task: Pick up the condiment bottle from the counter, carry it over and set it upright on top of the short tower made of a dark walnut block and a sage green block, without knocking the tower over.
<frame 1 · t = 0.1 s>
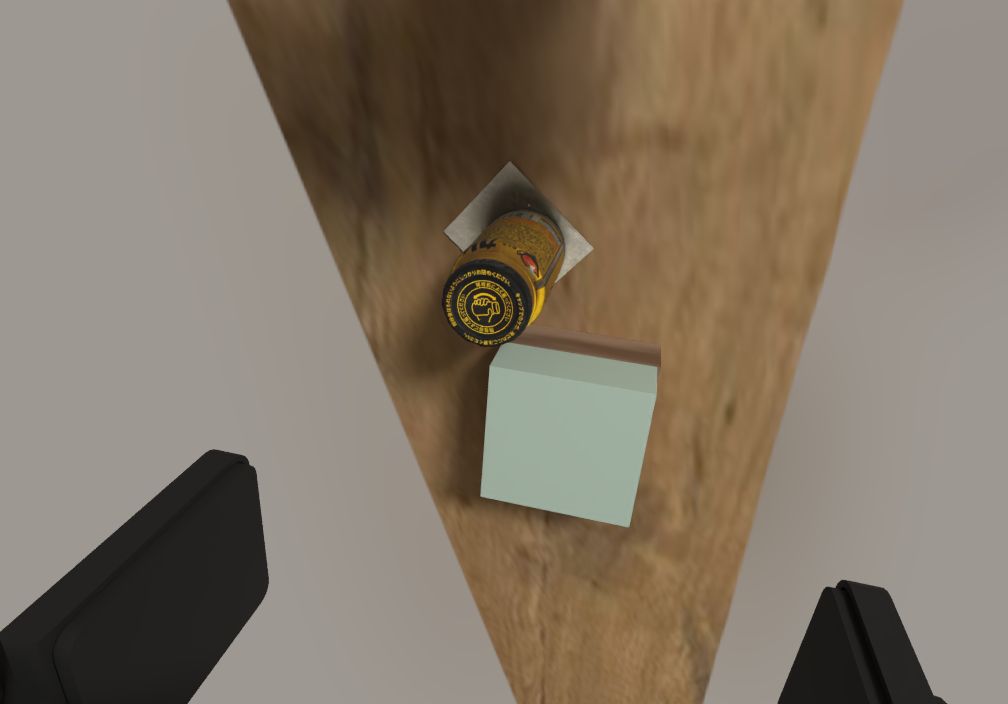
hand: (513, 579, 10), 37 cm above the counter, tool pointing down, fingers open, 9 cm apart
bottom block: (578, 393, 51), on the counter, touching top block
top block: (569, 419, 47), point 4 cm above the counter, touching bottom block
condiment: (518, 238, 46), on the counter
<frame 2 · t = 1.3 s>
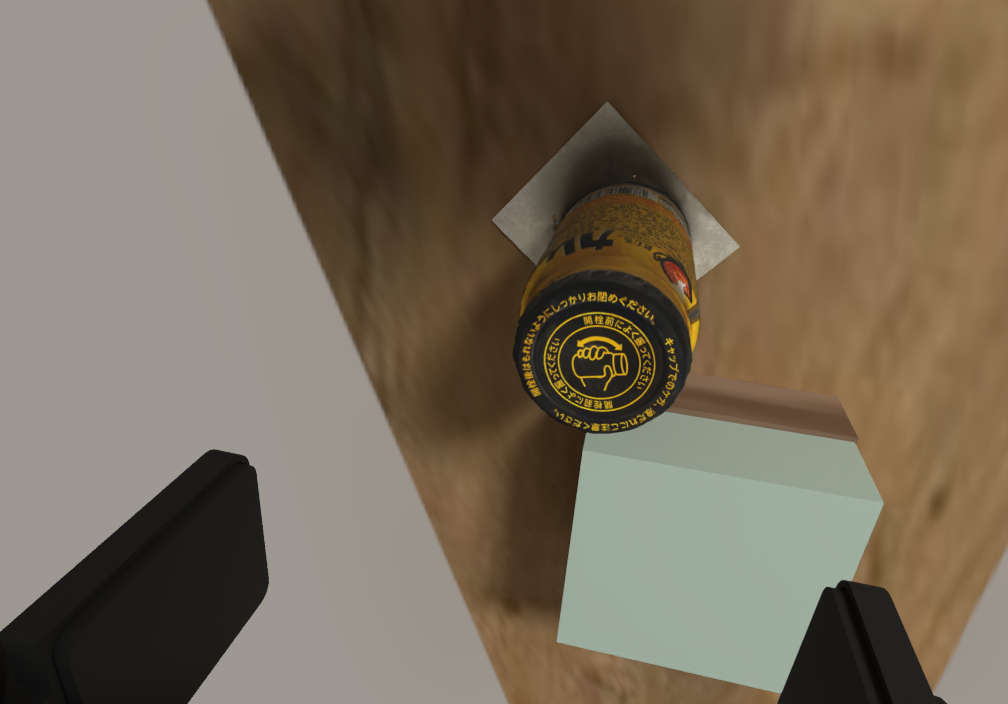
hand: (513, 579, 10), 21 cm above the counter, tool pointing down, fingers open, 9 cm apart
bottom block: (693, 464, 33), on the counter, touching top block
top block: (694, 518, 30), point 4 cm above the counter, touching bottom block
condiment: (611, 230, 29), on the counter
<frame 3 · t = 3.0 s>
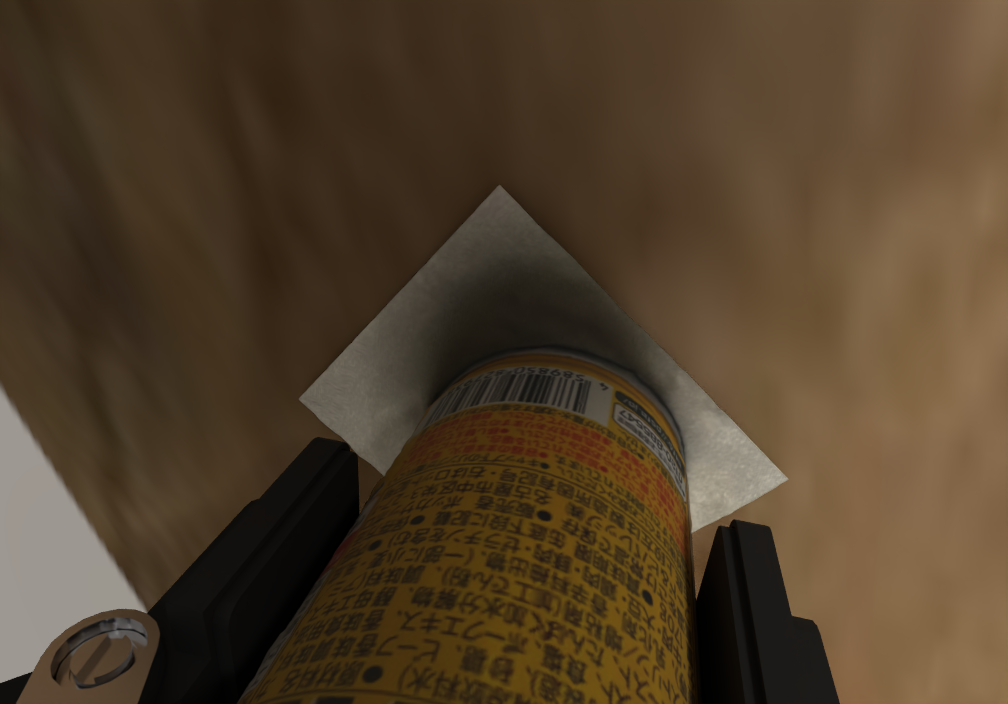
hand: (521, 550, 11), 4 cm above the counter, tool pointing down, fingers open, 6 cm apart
condiment: (529, 427, 15), on the counter
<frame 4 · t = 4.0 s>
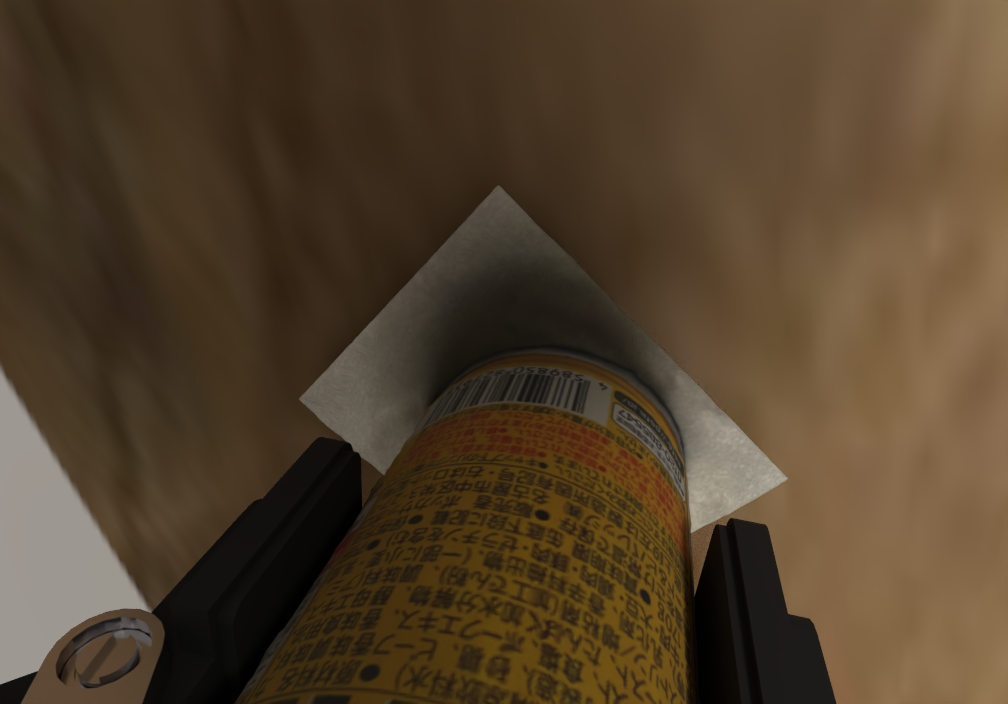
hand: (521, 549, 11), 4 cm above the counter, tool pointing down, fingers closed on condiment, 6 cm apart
condiment: (529, 426, 15), on the counter, touching gripper
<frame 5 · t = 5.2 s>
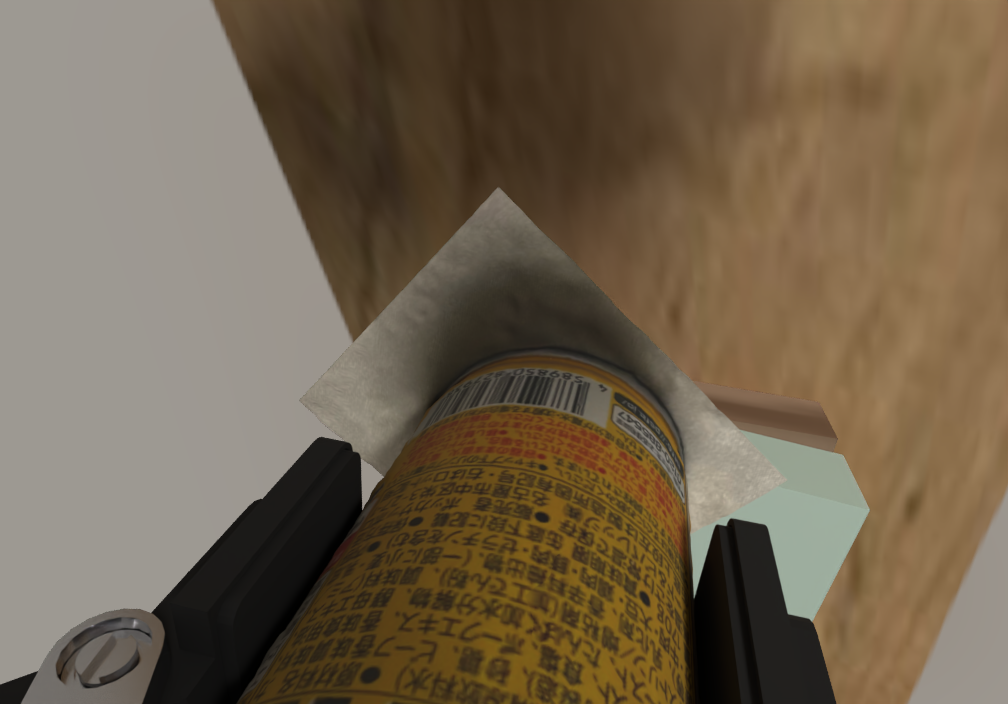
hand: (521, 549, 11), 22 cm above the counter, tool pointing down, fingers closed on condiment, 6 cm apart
bottom block: (683, 467, 35), on the counter, touching top block
top block: (686, 517, 31), point 4 cm above the counter, touching bottom block
condiment: (529, 428, 15), point 18 cm above the counter, touching gripper
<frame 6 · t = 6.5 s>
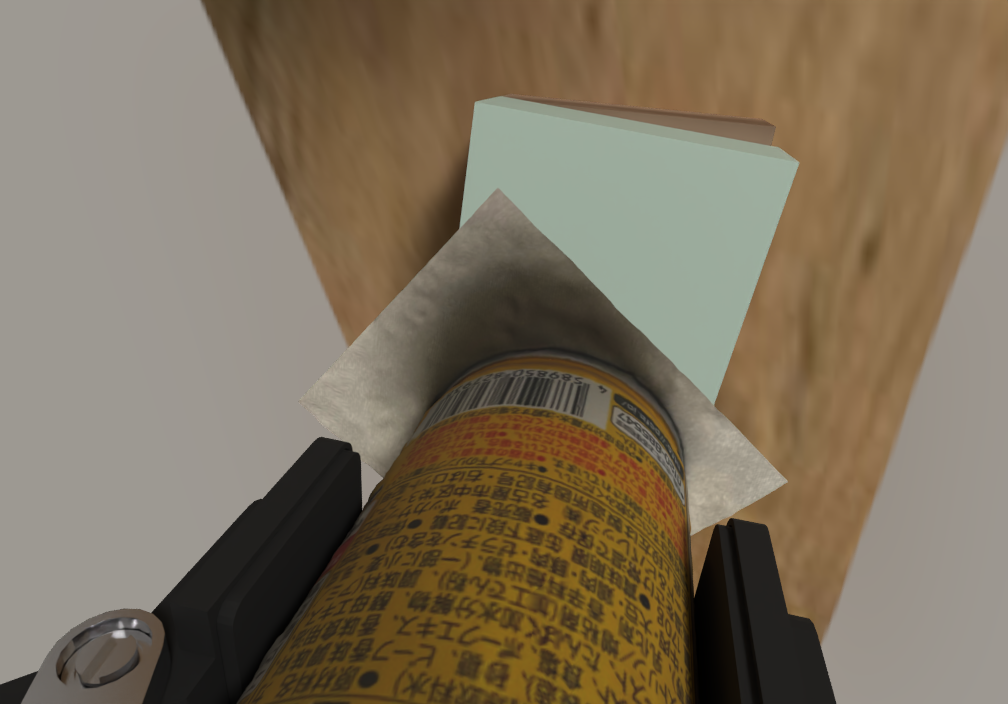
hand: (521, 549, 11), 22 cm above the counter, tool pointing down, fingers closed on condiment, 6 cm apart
bottom block: (613, 226, 31), on the counter, touching top block
top block: (604, 254, 27), point 4 cm above the counter, touching bottom block
condiment: (528, 429, 15), point 18 cm above the counter, touching gripper
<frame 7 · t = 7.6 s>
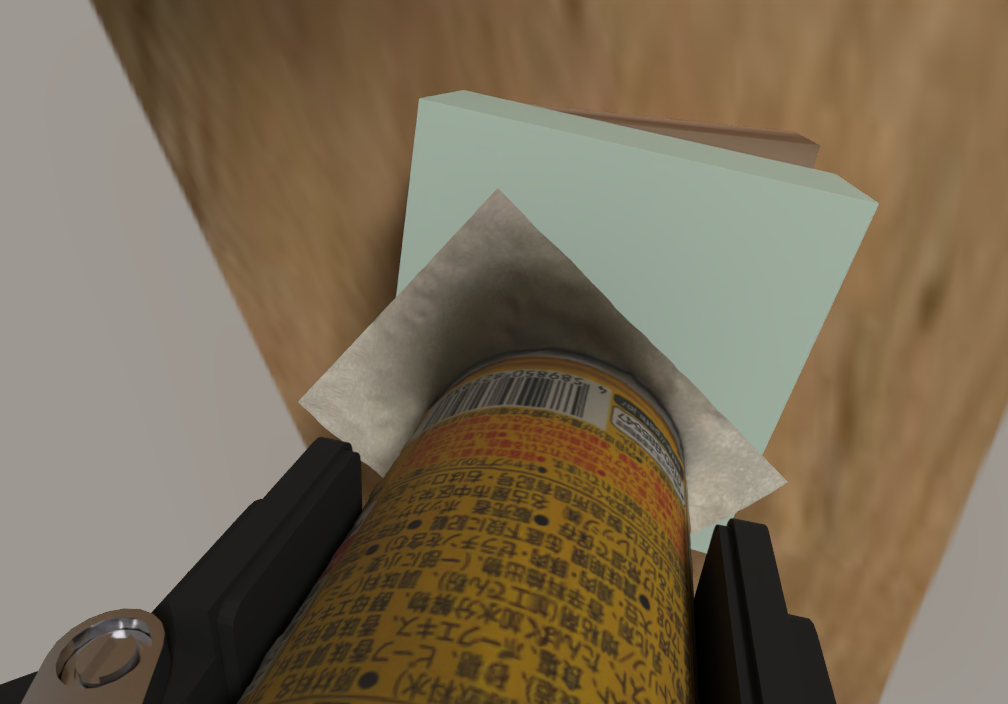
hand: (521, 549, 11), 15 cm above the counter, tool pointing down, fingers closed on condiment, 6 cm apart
bottom block: (603, 263, 24), on the counter
top block: (596, 301, 21), point 3 cm above the counter
condiment: (528, 429, 15), point 11 cm above the counter, touching gripper
when the fingers open (13 cm above the counter, at t = 8.4 s): condiment drops 2 cm, resting on top block.
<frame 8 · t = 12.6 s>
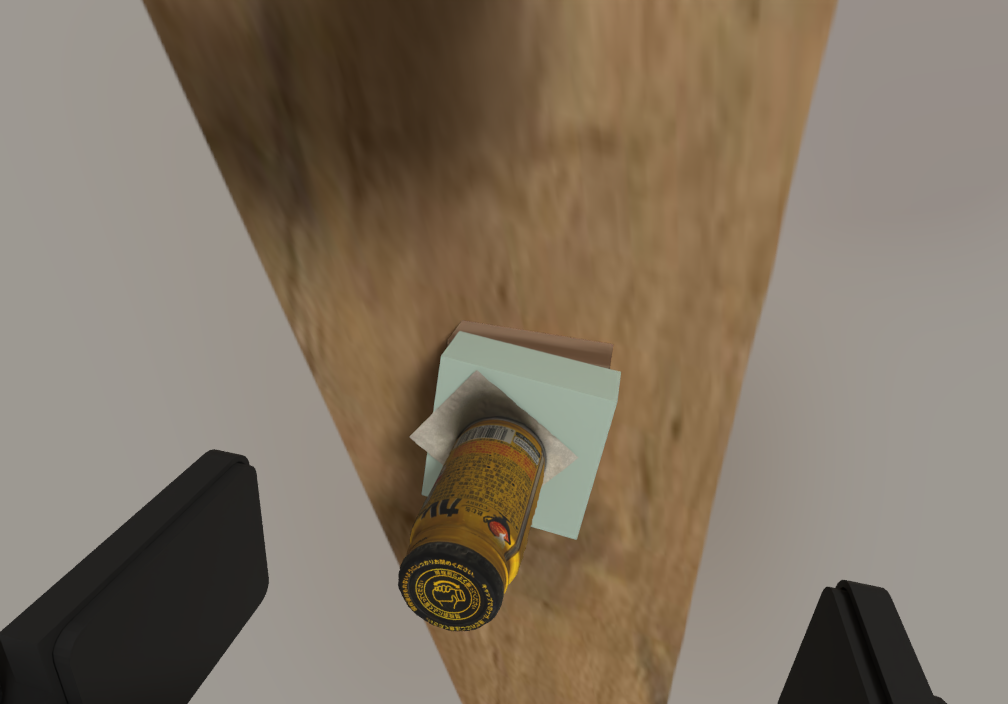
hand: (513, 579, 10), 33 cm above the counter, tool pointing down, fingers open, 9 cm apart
bottom block: (530, 396, 48), on the counter, touching top block
top block: (523, 420, 44), point 4 cm above the counter, touching bottom block, condiment
condiment: (493, 443, 41), point 7 cm above the counter, touching top block
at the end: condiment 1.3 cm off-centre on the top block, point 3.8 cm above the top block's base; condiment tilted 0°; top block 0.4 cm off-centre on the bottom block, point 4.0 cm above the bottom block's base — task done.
